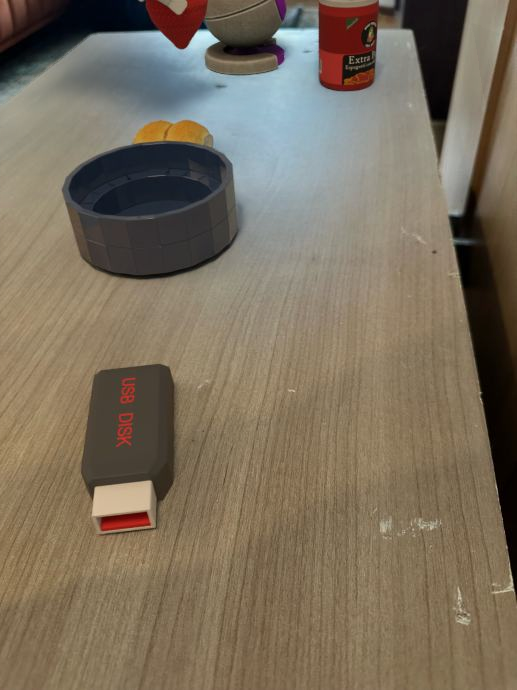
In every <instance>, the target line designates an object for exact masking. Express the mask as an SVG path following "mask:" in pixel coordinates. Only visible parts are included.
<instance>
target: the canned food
mask: <svg viewBox="0 0 517 690" xmlns="http://www.w3.org/2000/svg"><path fill="white" fill-rule="evenodd" d="M317 10H318V13H317V14H318V79H319V82H320V84H321V85H322V86H324V87H325V88H327V89H330V90H334V91H342V92H348V91H349V92H350V91H359V90H362V89H365V88H367V87H369V86H371V84H373V81H374V79H375V77H376V76H375V75H376V60H377V44H378V29H379V11H380V0H318V9H317Z"/></svg>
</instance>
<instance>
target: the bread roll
mask: <svg viewBox="0 0 517 690" xmlns="http://www.w3.org/2000/svg"><path fill="white" fill-rule="evenodd" d="M154 141H182V142H192V143H196V144H201V145H205V146H209V147H211V148H213V149H214V136H213V134H211V133H210V131H209V129H207V128H206V127H205V126H204V125H202V124H201V123H199V122H196V121H194V120H190V119H182V120H179V121H178V122H175V123H173V122H171V121H167V120H162V119H159V120H154V121H151V122H149V123H147V124H145V125H144V126H142V127H141V128H139V130H138V131H137V132H136V134H135V136H134V137H133V140H132V144H137V143H143V142H154Z"/></svg>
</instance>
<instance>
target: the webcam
mask: <svg viewBox="0 0 517 690" xmlns="http://www.w3.org/2000/svg"><path fill="white" fill-rule="evenodd" d="M287 10H288V8H287V3H286V0H208V5H207V10H206V16H205V18H204V20H203V21H202V23H203V24H204V25H205V27H206V29H207V30H208V32H209V33H210V34H211V36H213V37H214V38H215V39H216V40H217V42H215V43H213V44H211V45H210V46H209V47H208V48H206V50H205V53H204V62H205V66H206V68H208V69H209V70H211V71H212V72H216V73H220V74H226V75H255V74H260V73H261V74H262V73H266V72H270V71H274V70H276V69H278V68H279V67H278V66H279V65H281V64H282V63H284V61H285V49H284V48H283V46H280V45H279V44H278V42H277V38H276V37H274V36H275V34H276V33H277V32H278V31H279V29H280V28H281V26H282V25H283V23H284V21H285V18H286V15H287Z"/></svg>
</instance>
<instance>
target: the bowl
mask: <svg viewBox="0 0 517 690" xmlns="http://www.w3.org/2000/svg"><path fill="white" fill-rule="evenodd" d="M61 193H62V196H63V197H62V198H63V201H64V202H65V203H64V204H65V208H66V210H67V214H68V218H69V221H70V224H71V228H72V232H73V235H74V239H75V242H76V245H77V248H78V251H79V255H80V256H82V257H83V258H84V259H85V260H86V261H87V262H88V263H90V264H91V265H92V266H94V267H98V268H101V269H103V270H106V271H108V272H111V273H117V274H126V275H133V276H145V275H159V274H168V273H171V272H175V271H178V270H183V269H187V268H190V267H194V266H195V265H198V264H200V263H202V262H204V261H206V260H208V259H210V258H212V257H214V256H217V254H219V253H220V252H221V251H223V249H224V248H226V247H227V246H228V245H229V244H230V243H231V242H232V240H233V238H234V237H235V235H236V233H237V231H238V230H239V224H238V222H239V221H238V209H237V199H236V198H237V197H236V186H235V176H234V164H233V163H232V162H231V160H230V159H229V158H228V157H227V155H225V153H223V152H221V151H220V150H217V149H215V148H214V147H213V148H211V147H209V146H205V145H201V144H196V143H192V142H182V141H154V142H143V143H137V144H133V143H132V144H128V145H123V146H118V147H116V148H113V149H110V150H108V151H105V152H101V153H99V154H95V155H94V156H93V157H90V158H89V159H87V160H86V161H83V162H82V163H80V164H79V165H77V166H76V167H75V168H74V169H73V170H72V171H71V172H70V173H69V174H68V175H67V176H66V177H65V179H64V182H63V184H62V187H61Z"/></svg>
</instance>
